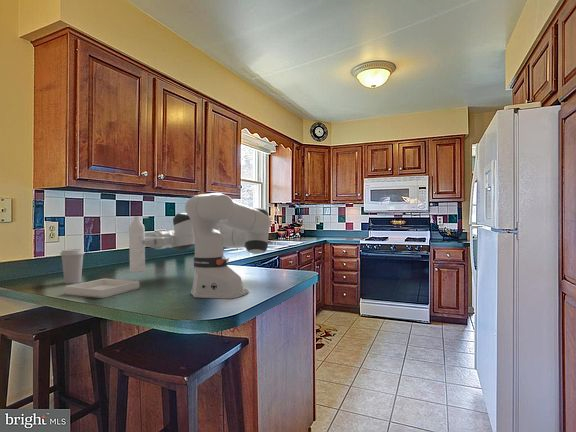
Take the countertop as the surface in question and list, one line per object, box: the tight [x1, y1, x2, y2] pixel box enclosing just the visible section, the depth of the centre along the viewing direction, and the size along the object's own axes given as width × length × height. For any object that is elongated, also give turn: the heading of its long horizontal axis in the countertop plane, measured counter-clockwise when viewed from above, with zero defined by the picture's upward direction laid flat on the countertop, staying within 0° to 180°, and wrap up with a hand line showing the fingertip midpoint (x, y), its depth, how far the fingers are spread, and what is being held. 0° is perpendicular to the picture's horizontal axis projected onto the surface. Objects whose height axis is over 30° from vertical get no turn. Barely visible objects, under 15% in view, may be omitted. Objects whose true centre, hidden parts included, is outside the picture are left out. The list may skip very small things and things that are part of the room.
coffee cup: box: [59, 248, 85, 285], centre depth 160 cm, size 10×10×15 cm
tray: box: [64, 278, 140, 299], centre depth 141 cm, size 20×18×3 cm
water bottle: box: [128, 215, 149, 273], centre depth 158 cm, size 9×6×25 cm
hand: (137, 242), depth 158 cm, fingers closed on water bottle, 6 cm apart
